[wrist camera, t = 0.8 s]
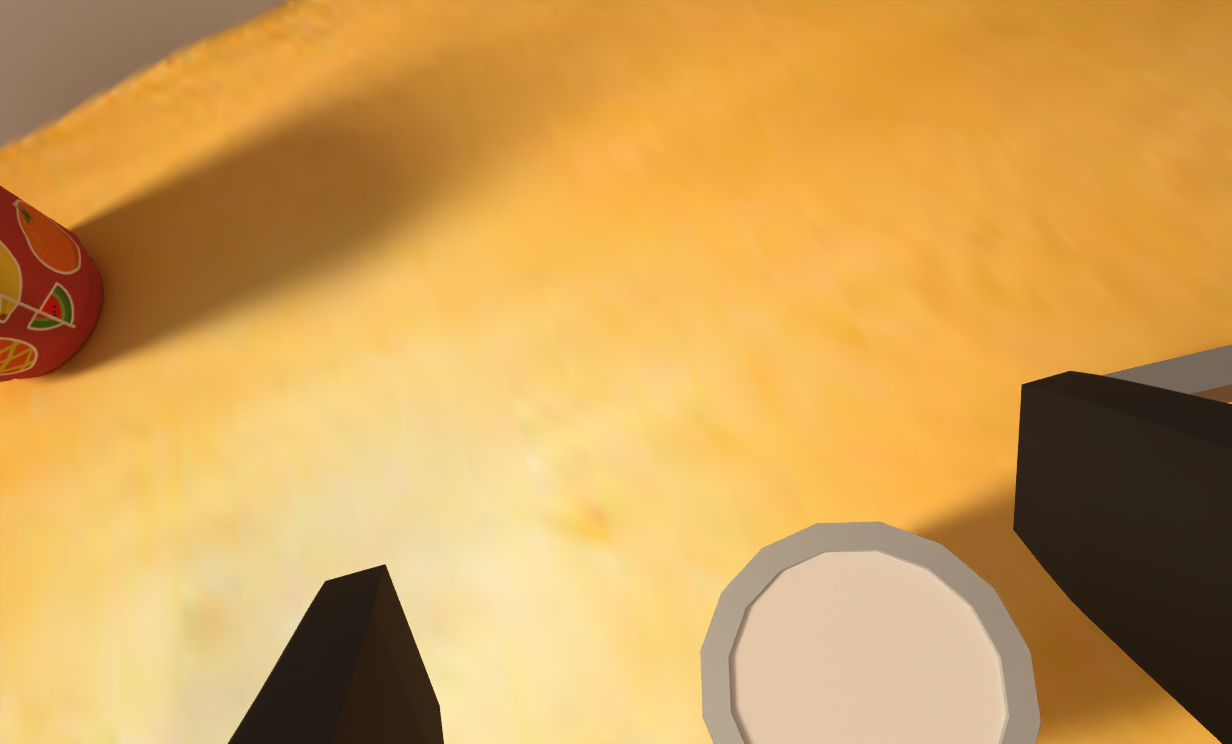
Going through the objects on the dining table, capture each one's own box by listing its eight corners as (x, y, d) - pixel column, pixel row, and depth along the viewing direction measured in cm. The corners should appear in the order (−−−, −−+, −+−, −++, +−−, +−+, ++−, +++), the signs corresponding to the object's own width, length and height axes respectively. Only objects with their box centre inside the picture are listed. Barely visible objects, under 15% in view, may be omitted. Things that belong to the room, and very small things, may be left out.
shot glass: (819, 855, 22) (836, 950, 16) (675, 635, 25) (636, 637, 18) (1023, 707, 22) (1122, 739, 16) (859, 503, 25) (886, 457, 18)
